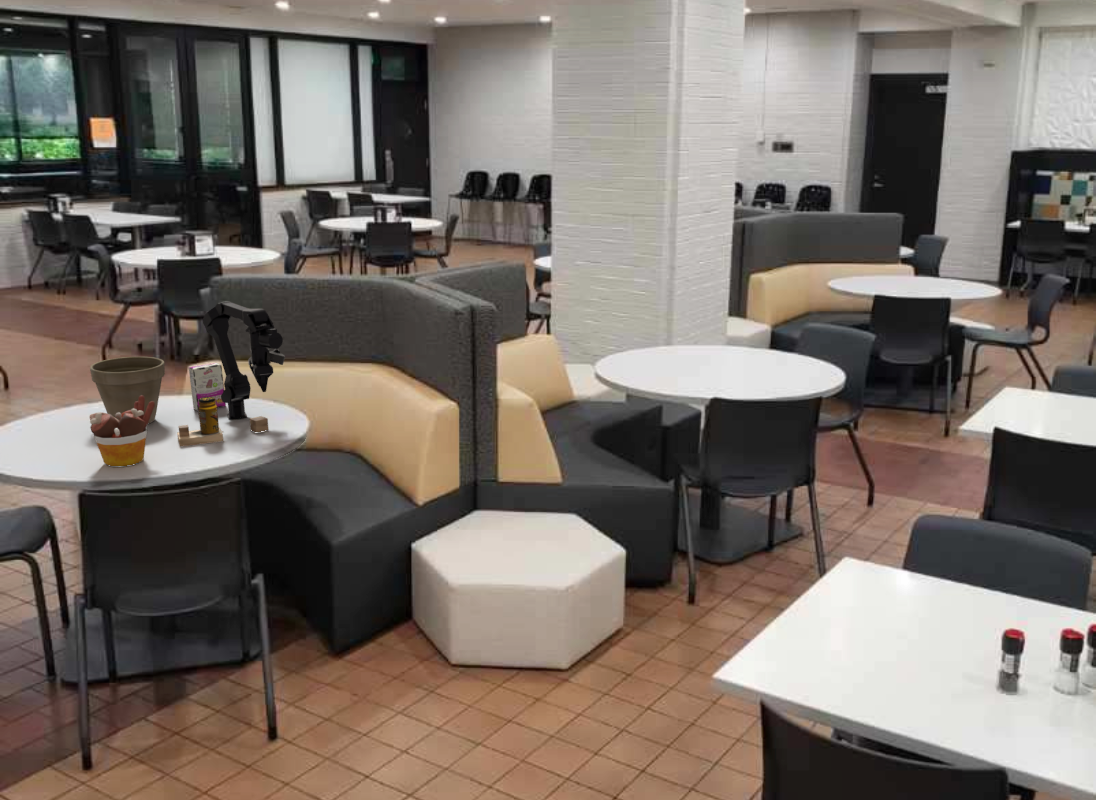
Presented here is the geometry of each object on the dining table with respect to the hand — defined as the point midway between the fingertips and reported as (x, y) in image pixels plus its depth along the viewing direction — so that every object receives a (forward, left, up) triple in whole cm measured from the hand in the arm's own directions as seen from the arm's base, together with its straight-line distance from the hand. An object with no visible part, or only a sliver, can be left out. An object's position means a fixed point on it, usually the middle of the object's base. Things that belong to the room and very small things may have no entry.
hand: (262, 389), depth 381 cm
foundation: (+10, -23, -13) cm, 28 cm away
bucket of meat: (+25, -47, -13) cm, 55 cm away
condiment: (+11, -21, -11) cm, 26 cm away
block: (+7, -3, -13) cm, 15 cm away
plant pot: (-24, -43, -13) cm, 51 cm away
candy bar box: (-33, -16, -13) cm, 39 cm away
